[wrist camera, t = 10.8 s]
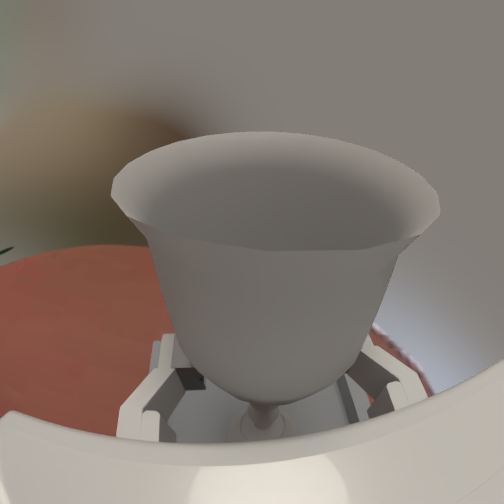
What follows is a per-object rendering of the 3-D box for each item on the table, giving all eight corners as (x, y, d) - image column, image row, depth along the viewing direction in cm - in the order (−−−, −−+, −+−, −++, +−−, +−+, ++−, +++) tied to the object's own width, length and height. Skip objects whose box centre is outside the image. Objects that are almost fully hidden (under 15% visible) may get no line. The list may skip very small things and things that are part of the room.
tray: (155, 529, 10) (140, 530, 8) (162, 360, 23) (153, 340, 21) (381, 503, 11) (399, 500, 10) (333, 345, 24) (340, 326, 23)
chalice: (191, 432, 16) (73, 177, 6) (255, 377, 20) (251, 125, 10) (270, 497, 12) (373, 369, 2) (331, 427, 16) (450, 174, 6)
